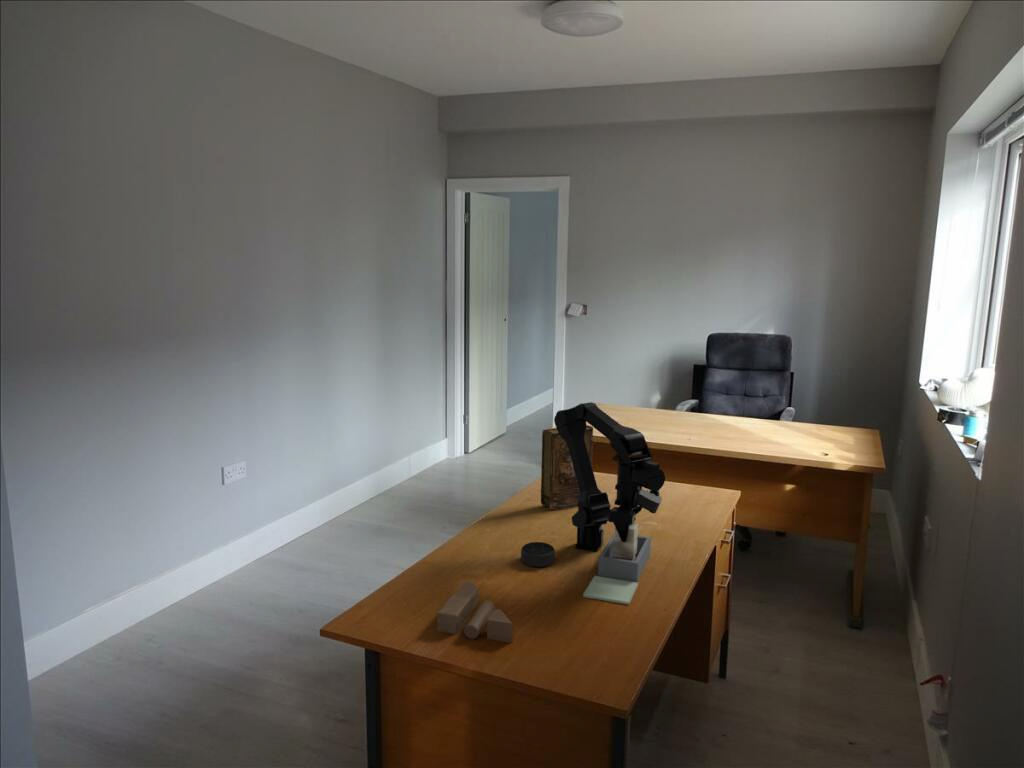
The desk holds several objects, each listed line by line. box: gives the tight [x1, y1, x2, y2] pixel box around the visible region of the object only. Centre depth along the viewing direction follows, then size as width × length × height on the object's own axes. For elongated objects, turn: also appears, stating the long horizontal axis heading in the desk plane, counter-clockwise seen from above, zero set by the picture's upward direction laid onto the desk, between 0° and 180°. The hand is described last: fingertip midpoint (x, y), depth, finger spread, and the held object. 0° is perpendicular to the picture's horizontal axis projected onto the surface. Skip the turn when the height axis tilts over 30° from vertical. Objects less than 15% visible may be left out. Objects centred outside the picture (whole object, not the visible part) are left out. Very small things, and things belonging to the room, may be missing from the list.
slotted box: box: [597, 531, 652, 583], centre depth 199 cm, size 10×18×5 cm, turn 160°
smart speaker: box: [520, 541, 556, 568], centre depth 201 cm, size 9×9×4 cm
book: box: [540, 424, 594, 511], centre depth 242 cm, size 16×6×25 cm, turn 117°
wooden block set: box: [436, 581, 513, 644], centre depth 170 cm, size 17×6×18 cm
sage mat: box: [582, 575, 639, 605], centre depth 185 cm, size 11×11×1 cm
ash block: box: [613, 522, 639, 559], centre depth 198 cm, size 5×5×8 cm
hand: (626, 538), depth 198 cm, fingers closed on ash block, 5 cm apart
